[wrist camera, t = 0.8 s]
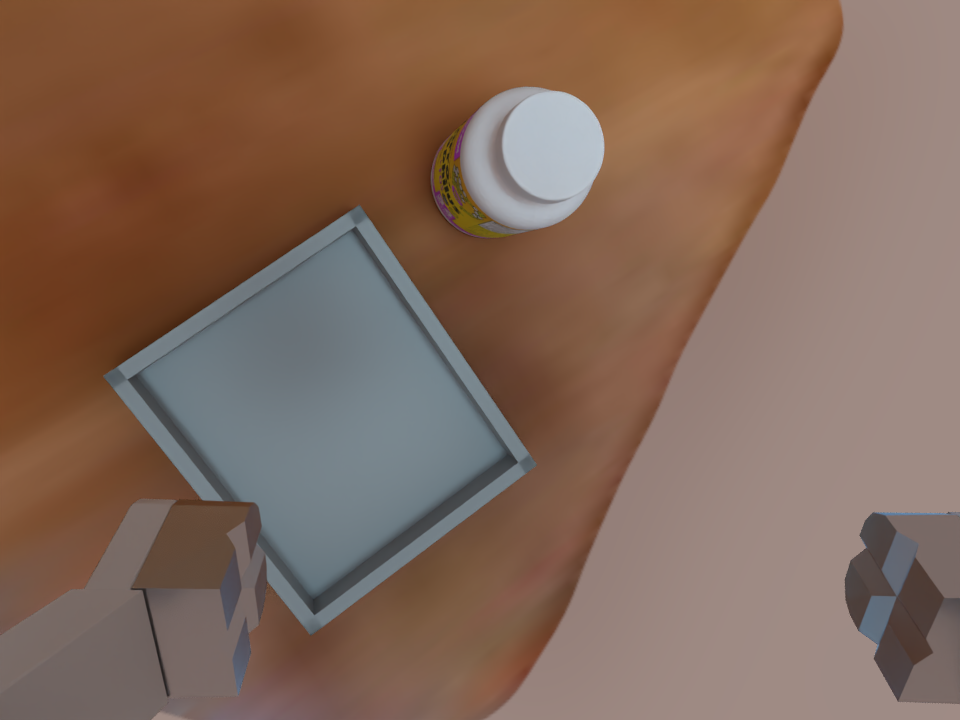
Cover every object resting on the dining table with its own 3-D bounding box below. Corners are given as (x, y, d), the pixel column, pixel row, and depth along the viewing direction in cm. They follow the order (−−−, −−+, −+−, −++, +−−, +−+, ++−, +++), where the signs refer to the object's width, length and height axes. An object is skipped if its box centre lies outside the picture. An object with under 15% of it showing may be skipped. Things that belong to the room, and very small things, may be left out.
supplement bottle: (433, 117, 45) (487, 51, 33) (543, 133, 47) (634, 77, 35) (423, 233, 46) (473, 213, 33) (532, 246, 47) (618, 230, 35)
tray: (116, 370, 43) (103, 376, 40) (355, 210, 45) (359, 204, 42) (309, 613, 46) (310, 635, 43) (521, 454, 48) (536, 465, 46)
